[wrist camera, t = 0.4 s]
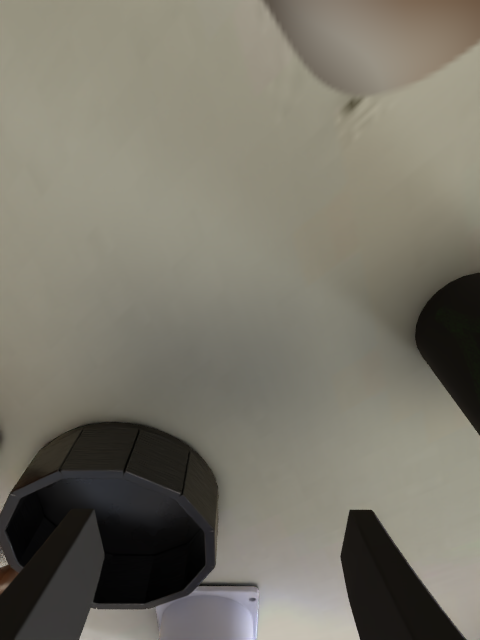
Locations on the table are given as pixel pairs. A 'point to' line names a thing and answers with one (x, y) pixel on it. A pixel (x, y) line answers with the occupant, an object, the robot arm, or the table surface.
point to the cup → (454, 342)
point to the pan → (120, 511)
